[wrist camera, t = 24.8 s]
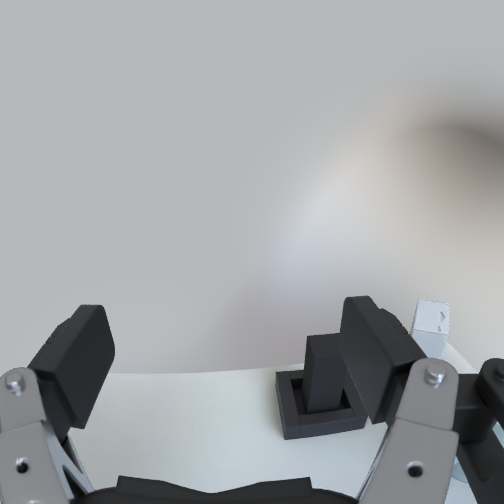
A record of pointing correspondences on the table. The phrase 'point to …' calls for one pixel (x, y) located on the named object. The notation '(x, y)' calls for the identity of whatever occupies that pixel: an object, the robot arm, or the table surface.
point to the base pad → (317, 424)
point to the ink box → (431, 327)
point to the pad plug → (323, 374)
